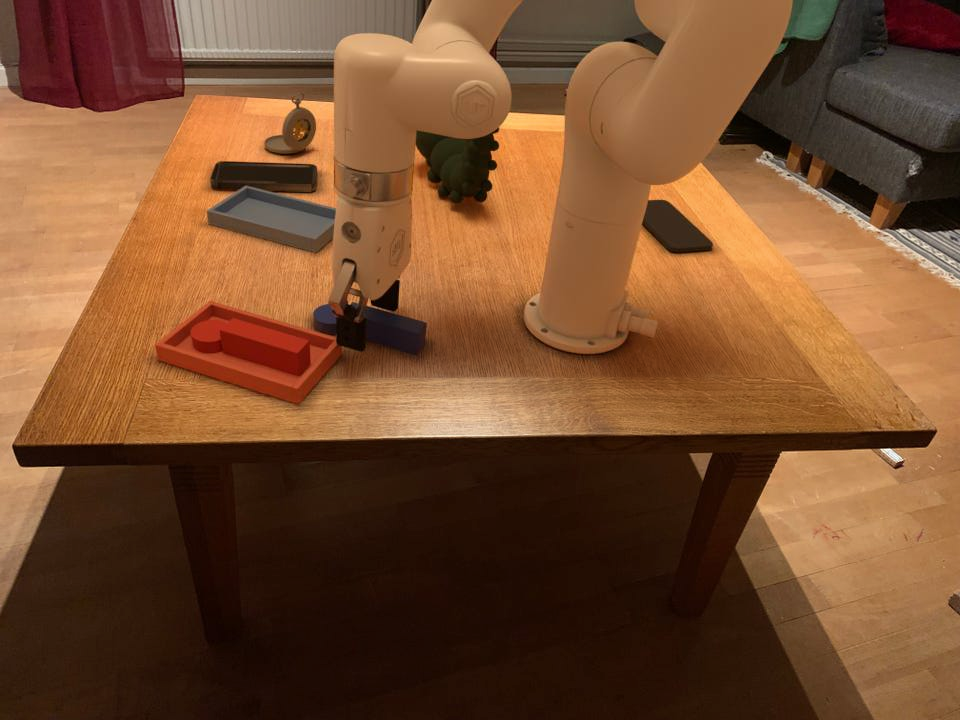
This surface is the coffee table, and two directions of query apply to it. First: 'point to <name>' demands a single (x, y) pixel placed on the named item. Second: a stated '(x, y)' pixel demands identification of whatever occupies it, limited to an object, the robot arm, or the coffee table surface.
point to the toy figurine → (459, 164)
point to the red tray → (244, 372)
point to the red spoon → (253, 344)
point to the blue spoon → (380, 328)
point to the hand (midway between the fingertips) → (368, 326)
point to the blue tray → (275, 218)
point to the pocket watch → (294, 120)
